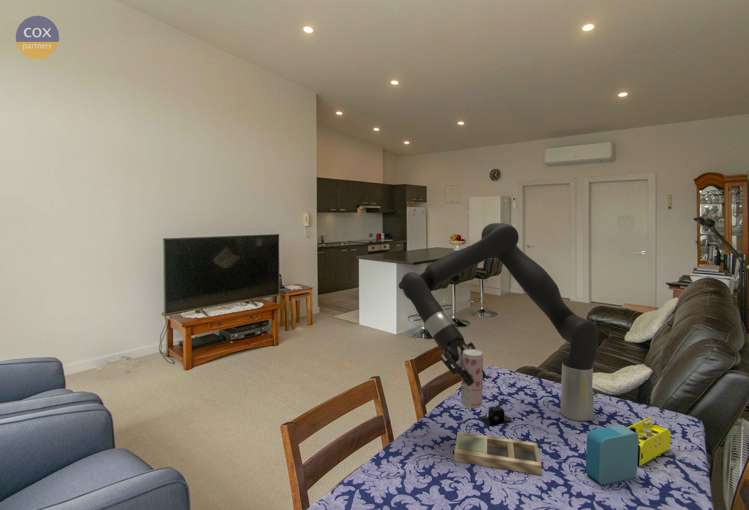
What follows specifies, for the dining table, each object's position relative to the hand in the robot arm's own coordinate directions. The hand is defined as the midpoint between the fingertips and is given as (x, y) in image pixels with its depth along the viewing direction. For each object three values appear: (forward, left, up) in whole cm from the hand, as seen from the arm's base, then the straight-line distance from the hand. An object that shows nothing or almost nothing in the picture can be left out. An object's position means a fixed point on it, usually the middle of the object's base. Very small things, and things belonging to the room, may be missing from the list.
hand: (477, 380), depth 108 cm
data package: (-33, 0, -22) cm, 40 cm away
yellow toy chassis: (-45, -13, -22) cm, 52 cm away
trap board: (-5, -1, -21) cm, 22 cm away
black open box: (-6, -22, -22) cm, 32 cm away
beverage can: (+2, -1, -7) cm, 8 cm away
